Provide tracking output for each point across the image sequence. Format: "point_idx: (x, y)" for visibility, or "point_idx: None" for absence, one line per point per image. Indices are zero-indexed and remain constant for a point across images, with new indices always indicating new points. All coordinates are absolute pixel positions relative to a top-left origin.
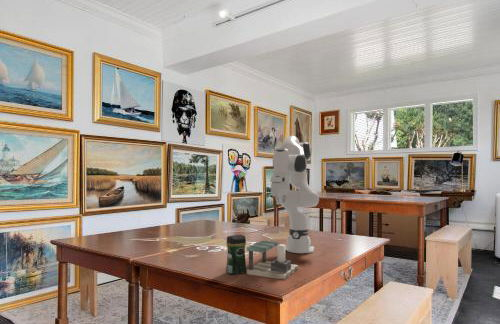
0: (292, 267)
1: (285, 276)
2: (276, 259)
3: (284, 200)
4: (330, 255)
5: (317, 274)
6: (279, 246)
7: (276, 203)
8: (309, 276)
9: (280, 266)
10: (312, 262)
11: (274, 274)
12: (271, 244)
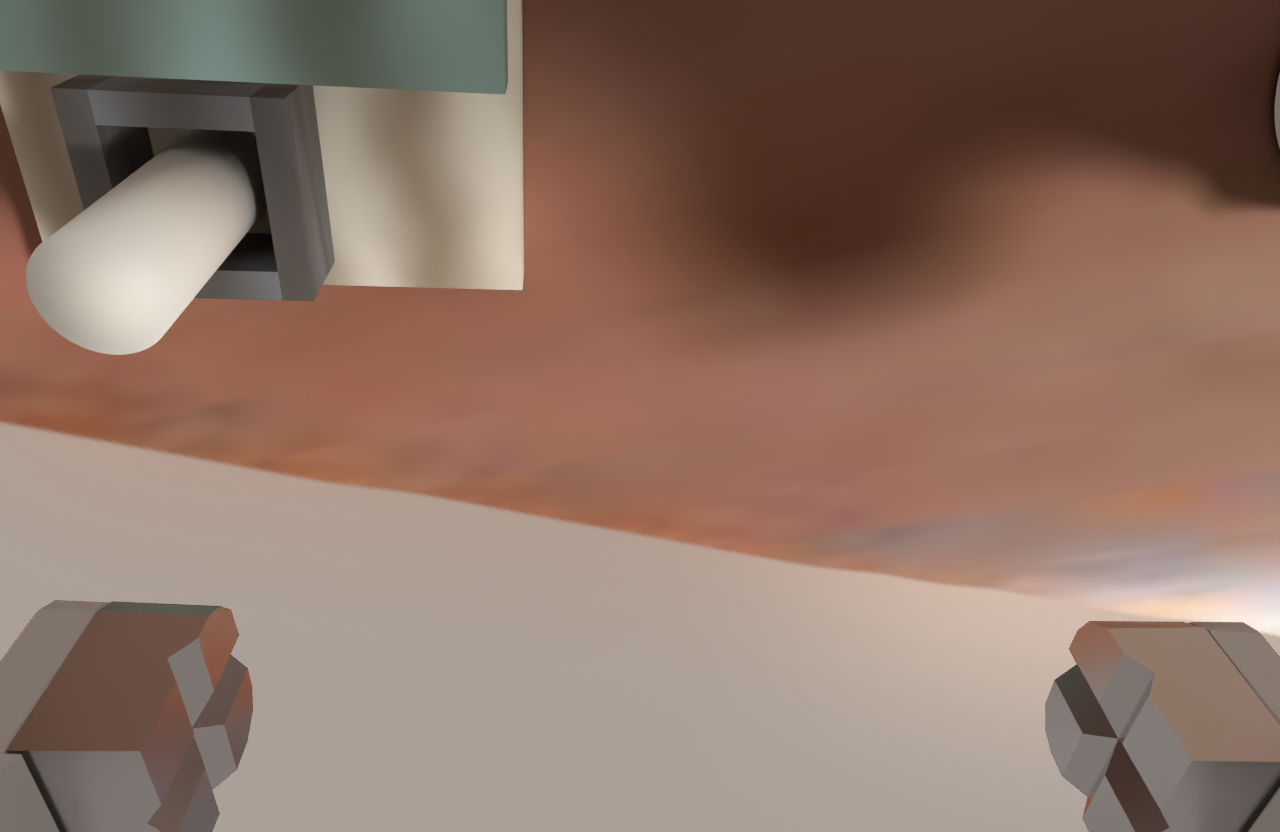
0: (392, 262)
1: None
2: (252, 109)
3: (1098, 807)
4: (1204, 438)
5: (433, 469)
6: (32, 281)
7: (34, 643)
8: (330, 426)
9: None
10: (854, 342)
11: (18, 149)
12: (209, 49)
